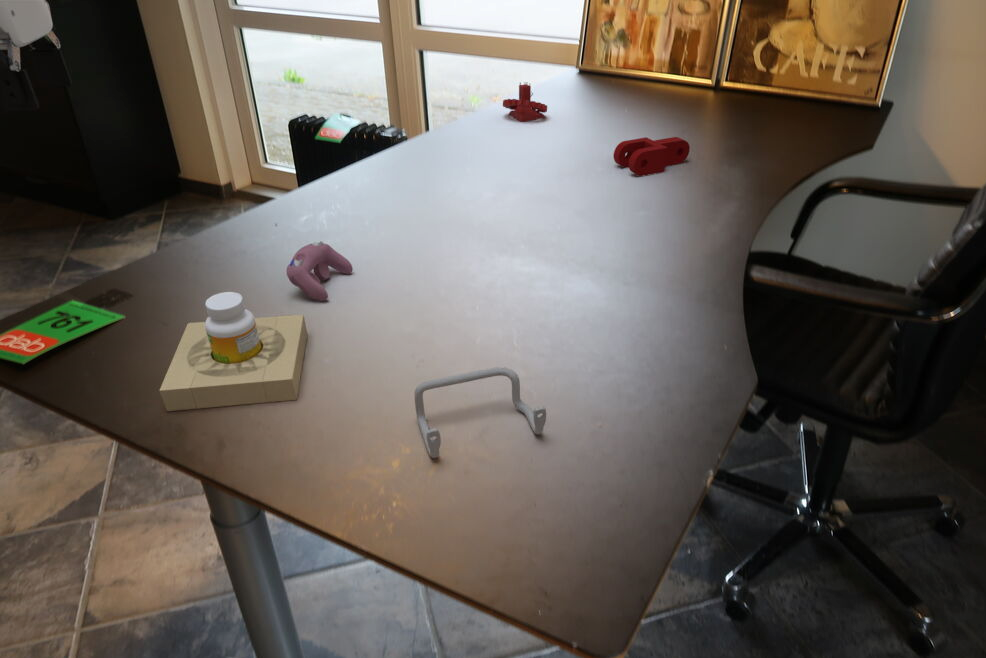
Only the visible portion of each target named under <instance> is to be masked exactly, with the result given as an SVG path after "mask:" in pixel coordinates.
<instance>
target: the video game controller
mask: <svg viewBox="0 0 986 658" xmlns="http://www.w3.org/2000/svg"><path fill="white" fill-rule="evenodd" d="M329 267H330V268H332V269H333V270H335V271H337V272H339V273H342V274H346V275H349V274H351V273H352V272H353V270H354V269H353V265H352V263H351V262H350V261H349V260H348V259H347V258H346V257H345V256H343V255H342V254H340V253H339V252H338V251H337V250H335V249H334V248H333V247H331V246H330V245H329V244H327V243H324V242H323V241H318V242H317V241H315V242H313V243H309V244H306V245H304V246H302V247H301V248H299V249H298V250H297V252H295V254H294V255H293V257H292V259H291V260H290V263H289V264H288V265H287V266H286V276H287V278H288V280H289V282H290V283H291V284H292V285H293V286H295V287H297V288H299V290H300V291H302V292H303V293H304V294H306V295H307V296H308V297H310V298H312V299H314V300H316V301H319V302H326V301H327V300H328V298H329V294H328V292H327V290H326V289H325V287H324V286H323V285H322V284H321V282H322V281H325V280H327V279H329V278H330V277H331V272H330V268H329Z"/></svg>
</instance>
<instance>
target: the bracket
mask: <svg viewBox="0 0 986 658" xmlns="http://www.w3.org/2000/svg"><path fill="white" fill-rule="evenodd" d="M499 376H501V377H507V378H508V379H509V380H510V382H511V400H512V403H513V405H514V407H515V408H516V409H517V410H518V411H520V412H521V413H522V414H524V415H525V417H526V419H527V421H528V423H529V425H530V428H531V429H532V431H533V433H534V435H535V434H536V435H541V434H542V433H543V431H544V427H545V424H546V421H547V410H546V406H538V407H535V408H534V410H532V409H531V407H530V406H528V404H526V403H524V402H523V400H522V399H521V385H520V384H521V383H520V381H521V380H520V377H519V375H518V374H517V372H515V370H513V369H511V368H508V367H504V366H503V367H501V366H499V367H496V366H495V367H491V368H486V369H480V370H476V371H470V372H465V373H460V374H455V375H450V376H446V377H445V376H444V377H440V378H436V379H430V380H427V381H423V382H421V383H420V384H418V385H417V386H416V388H415V389H414V407H415V414H416V420H417V423H418V426H419V429H420V432H421V436H422V439H423V442H424V444H425V447H426V450H427V452H428V454H429V457H430V458H431V459H437V458H438V457H439V455H440V448H441V443H442V439H441V433H440V430H439V429H438V428H437V427H435V428H430V427H429V425H428V422H427V419H426V413H425V405H424V393H425V392H426V391H429V390H434V389H439V388H443V387H449V386H454V385H459V384H463V383H469V382H474V381H479V380H482V379H488V378H493V377H499ZM539 415H540V416H539ZM433 437H435V439H434V438H433Z"/></svg>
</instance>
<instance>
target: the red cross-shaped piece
mask: <svg viewBox="0 0 986 658" xmlns="http://www.w3.org/2000/svg"><path fill="white" fill-rule="evenodd" d="M531 88H532V86H531V85H530V84H528V83H524V84H521V82H519V85H518V99H517V98H507V99H503V101H502V107H503V108H505V109H509V110H510V111H509V112H508V115H510V116H512V118H513V119H515V120H517V121H519V122H521V123H523V122H524V123H525V122H530V121H537V120H539V119H545V118H546V117H547V116H546V115H544V114H543V113H545V114H546V113H547V112H548V105H547V104H545V103H542V102H537V101H534V100H531V99H532V96H533V95H534V93H533V92H532V89H531Z"/></svg>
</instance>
